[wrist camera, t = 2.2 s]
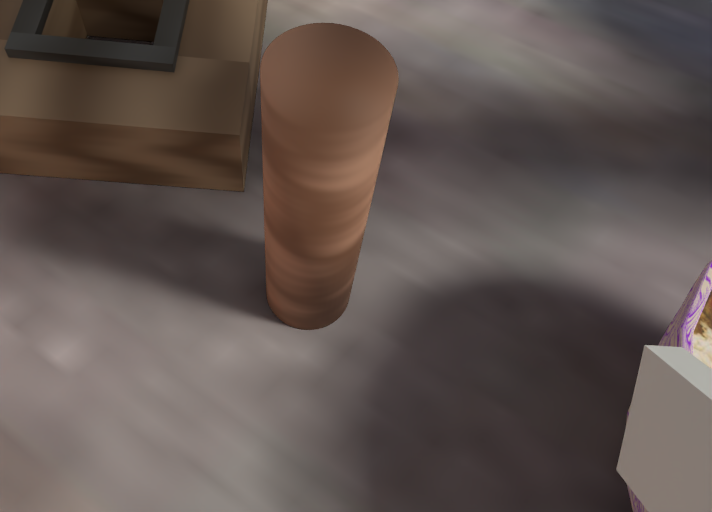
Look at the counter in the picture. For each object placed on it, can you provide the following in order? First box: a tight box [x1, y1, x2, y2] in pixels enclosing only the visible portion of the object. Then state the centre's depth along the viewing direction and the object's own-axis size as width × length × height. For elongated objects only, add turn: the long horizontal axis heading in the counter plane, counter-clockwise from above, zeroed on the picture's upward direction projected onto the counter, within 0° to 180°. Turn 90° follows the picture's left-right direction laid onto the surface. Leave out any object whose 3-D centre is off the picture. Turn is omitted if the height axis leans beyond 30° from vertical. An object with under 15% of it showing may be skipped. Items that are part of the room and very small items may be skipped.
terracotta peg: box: [260, 23, 399, 330], centre depth 28 cm, size 4×4×16 cm
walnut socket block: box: [0, 0, 268, 192], centre depth 38 cm, size 16×16×6 cm
